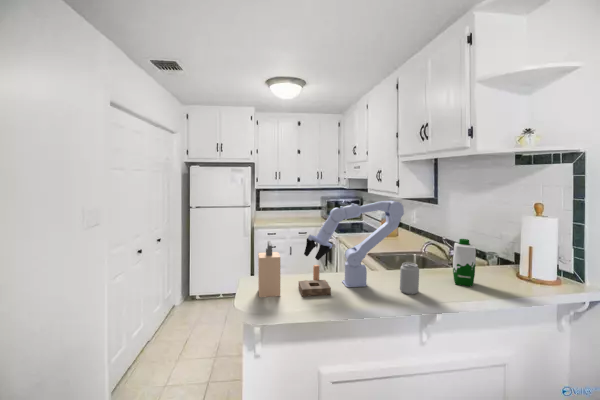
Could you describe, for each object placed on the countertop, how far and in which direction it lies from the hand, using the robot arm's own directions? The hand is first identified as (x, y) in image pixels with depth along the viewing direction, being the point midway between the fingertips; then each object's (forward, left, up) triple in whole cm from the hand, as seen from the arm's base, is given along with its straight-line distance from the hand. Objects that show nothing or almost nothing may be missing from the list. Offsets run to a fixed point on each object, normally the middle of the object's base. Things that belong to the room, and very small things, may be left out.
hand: (311, 257), depth 135 cm
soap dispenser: (+19, +10, -13) cm, 25 cm away
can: (-40, +15, -13) cm, 44 cm away
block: (0, +9, -12) cm, 15 cm away
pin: (-3, -1, -12) cm, 13 cm away
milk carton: (-70, +9, -13) cm, 71 cm away
